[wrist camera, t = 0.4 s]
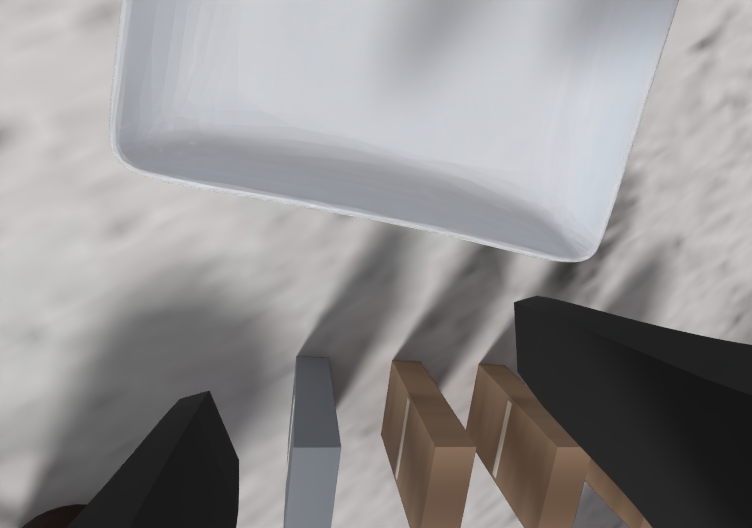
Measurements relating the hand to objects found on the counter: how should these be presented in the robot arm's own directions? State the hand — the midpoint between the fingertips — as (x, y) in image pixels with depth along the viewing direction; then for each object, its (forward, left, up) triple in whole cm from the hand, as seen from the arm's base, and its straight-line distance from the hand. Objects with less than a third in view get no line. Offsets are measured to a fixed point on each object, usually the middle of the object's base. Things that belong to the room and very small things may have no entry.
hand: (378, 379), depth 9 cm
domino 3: (-7, -9, -11) cm, 16 cm away
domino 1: (-7, +1, -11) cm, 12 cm away
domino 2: (-7, -4, -11) cm, 13 cm away
